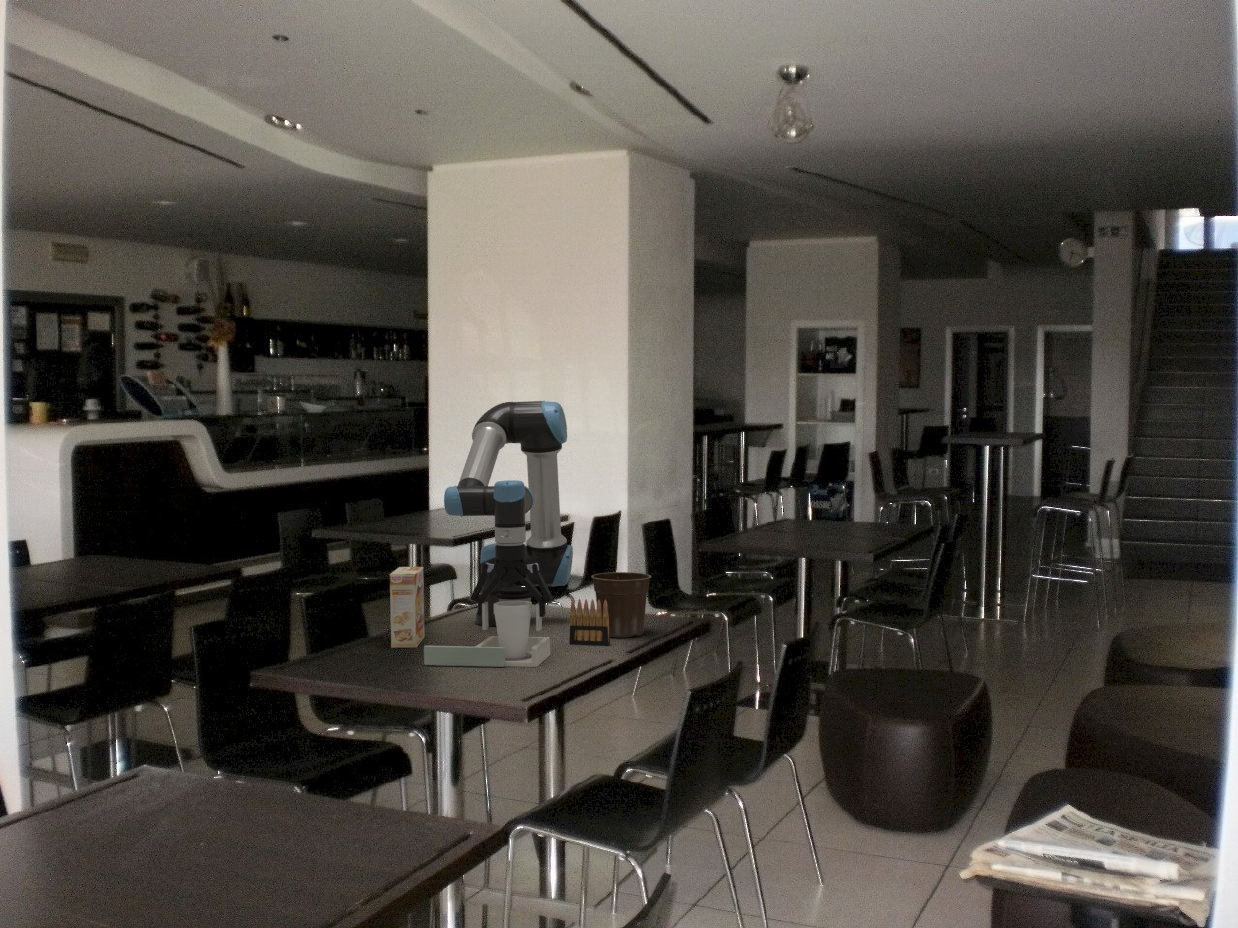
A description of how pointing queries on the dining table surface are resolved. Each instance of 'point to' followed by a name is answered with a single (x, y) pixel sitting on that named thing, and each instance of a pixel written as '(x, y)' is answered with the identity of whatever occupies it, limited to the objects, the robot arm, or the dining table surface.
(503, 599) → the coffee cup
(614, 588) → the plant pot
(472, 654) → the gate
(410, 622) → the coffeecake box
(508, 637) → the foam cup
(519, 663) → the housing
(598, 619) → the ammunition clip
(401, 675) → the dining table surface
